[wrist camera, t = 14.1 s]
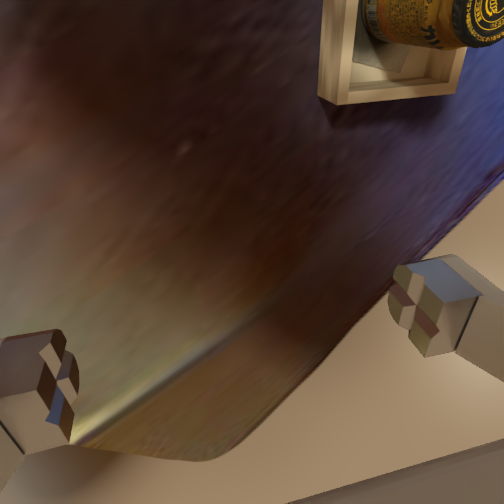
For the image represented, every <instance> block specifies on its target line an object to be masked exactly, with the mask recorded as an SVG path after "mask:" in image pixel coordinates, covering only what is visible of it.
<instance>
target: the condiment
mask: <svg viewBox="0 0 504 504" xmlns="http://www.w3.org/2000/svg"><path fill="white" fill-rule="evenodd" d="M503 38H504V0H358V9H357V19H356V28H355V37H354V46H353V55H352V61H355V62H359V63H363V64H366V65H370V66H374V67H377V68H381V69H385V70H388V71H392V72H396V73H401V70H402V68H403V66H404V63H405V60H406V57H407V55H408V53H409V51H410V48H411V45H413V46H420V47H427V48H431V49H439V50H455V49H459V48H462V47H473V48H479V47H485V46H490V45H492V44H494V43H496V42H498V41H500V40H502V39H503ZM388 45H389V46H388Z"/></svg>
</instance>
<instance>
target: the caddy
mask: <svg viewBox="0 0 504 504" xmlns="http://www.w3.org/2000/svg"><path fill="white" fill-rule="evenodd" d="M357 9H358V0H323V12H322V27H321V43H320V59H319V75H318V91H317V95H318V96H320V97H322V98H324V99H326V100H328V101H330V102H331V103H333V104H335V105H344V104H354V103H364V102H374V101H384V100H394V99H405V98H415V97H425V96H435V95H445V94H455V91H456V87H457V84H458V80H459V76H460V72H461V69H462V65H463V61H464V57H465V53H466V50H467V47H462V48H459V49H455V50H439V49H431V48H427V47H420V46H413V45H411V48H410V51H409V53H408V55H407V57H406V60H405V63H404V66H403V68H402V70H401V73H396V72H392V71H388V70H385V69H381V68H377V67H374V66H370V65H366V64H363V63H359V62H355V61H352V55H353V46H354V37H355V28H356V19H357ZM388 46H389V45H388Z"/></svg>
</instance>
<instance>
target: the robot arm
mask: <svg viewBox="0 0 504 504" xmlns="http://www.w3.org/2000/svg"><path fill="white" fill-rule="evenodd" d="M393 279H394V280H395V282H396V284H395V285H394V286H393V287H392V289H391V290H390V291H389V296H388V305H389V311H390V313H391V315H392V317H393V319H394V320H395V321H396V323H397V324H398V325H399V326H401V327H403V328H406V329H407V330H409V339H410V340H411V342H412V343H413V344H414V345H415V346H416V348H417V349H418V350H419V351H420V353H421V354H422V355H423V356H424V357H430V356H435V355H440V354H444V353H449V352H453V351H456V352H455V353H456V354H458V355H460V356H461V357H463V358H464V359H466V360H468V361H469V362H471V363H473V364H474V365H476V366H478V367H479V368H481V369H483V370H484V371H486V372H488V373H489V374H491V375H493V376H494V377H496V378H498V379H499V380H501V381H503V382H504V292H503V291H502V290H501V289H499V288H498V287H497V286H495V285H494V284H493V283H492V282H490V281H489V280H488V279H487V278H485V277H484V276H483V275H481V274H480V273H479V272H478V271H476V270H475V269H474V268H473V267H471V266H470V265H469V264H467V263H466V262H465V261H464V260H462V259H461V258H460V257H458V256H456V255H453V254H449V255H444V256H439V257H434V258H432V259H426V260H421V261H416V262H410V263H405V264H400V265H398V266H397V267H396V269H395V270H394V274H393ZM66 342H67V340H66V338H65V336H64V335H63V333H62V331H61V330H59V329H53V330H47V331H41V332H35V333H28V334H22V335H16V336H10V337H7V338H1V339H0V492H1V491H2V489H3V488H4V487H5V485H6V484H7V482H8V481H9V480H10V478H11V477H12V475H13V474H14V472H15V471H16V470H17V468H18V467H19V466H20V464H21V463H22V462H23V460H24V459H25V456H24V455H28V454H32V453H35V452H39V451H43V450H46V449H50V448H54V447H58V446H61V445H65V444H69V441H70V436H71V430H72V425H73V419H74V412H73V410H72V409H71V407H70V404H71V403H72V402H73V401H74V399H75V398H76V397H77V396H78V390H79V370H78V366H77V362H76V359H75V357H74V355H73V354H72V353H70V352H68V351H66V350H65V346H66ZM286 504H504V439H500V440H497V441H494V442H491V443H487V444H484V445H480V446H477V447H473V448H470V449H467V450H464V451H460V452H457V453H453V454H450V455H447V456H443V457H440V458H437V459H433V460H430V461H427V462H423V463H420V464H417V465H413V466H410V467H407V468H403V469H400V470H396V471H393V472H390V473H386V474H383V475H380V476H377V477H373V478H370V479H366V480H363V481H360V482H356V483H353V484H350V485H346V486H343V487H340V488H336V489H333V490H330V491H326V492H323V493H320V494H316V495H313V496H309V497H306V498H303V499H299V500H296V501H293V502H289V503H286Z"/></svg>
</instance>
